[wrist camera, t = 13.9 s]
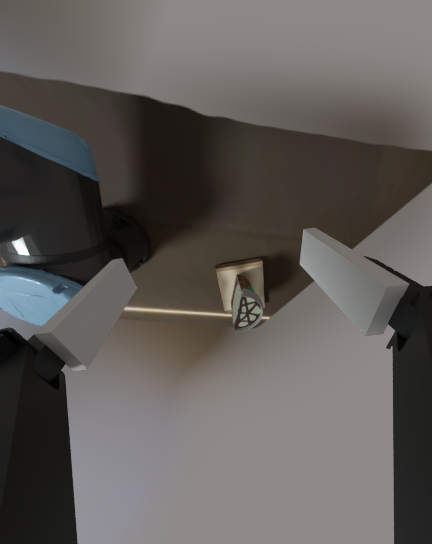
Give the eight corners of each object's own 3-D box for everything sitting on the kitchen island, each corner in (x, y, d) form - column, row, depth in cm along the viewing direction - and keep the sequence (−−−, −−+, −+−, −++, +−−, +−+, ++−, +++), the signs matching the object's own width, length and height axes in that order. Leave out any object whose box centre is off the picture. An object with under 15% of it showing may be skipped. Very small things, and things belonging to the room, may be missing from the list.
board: (224, 309, 54) (225, 313, 53) (215, 265, 46) (215, 269, 44) (263, 303, 53) (264, 307, 52) (260, 257, 45) (262, 261, 43)
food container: (250, 306, 52) (257, 334, 43) (229, 305, 51) (233, 333, 43) (260, 271, 45) (271, 296, 37) (237, 269, 45) (243, 294, 36)
